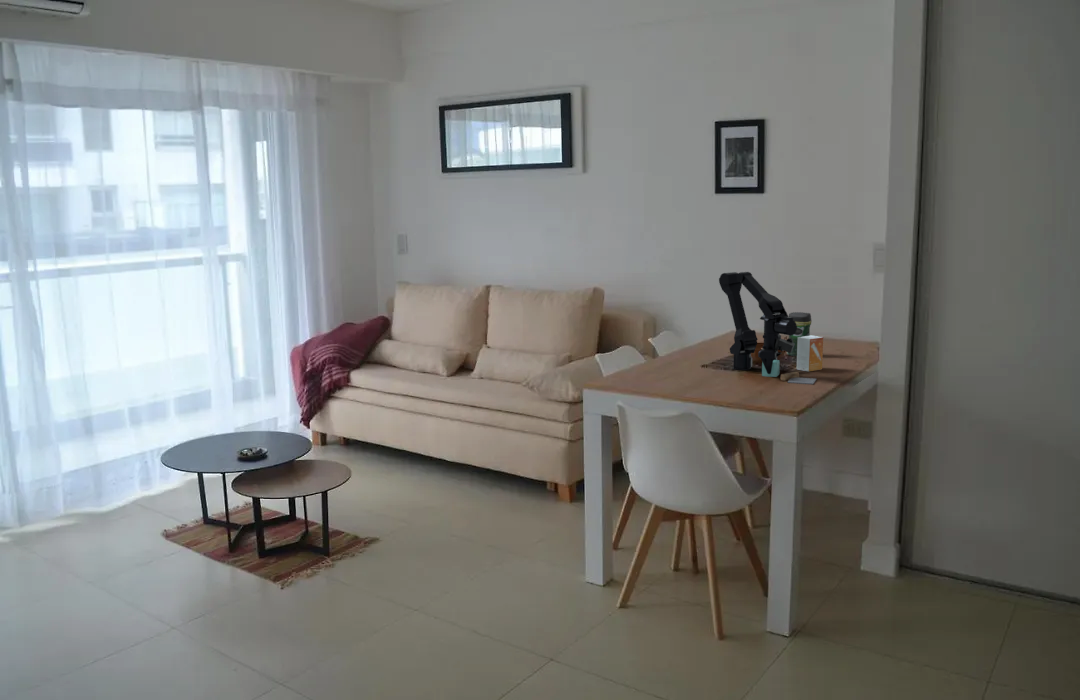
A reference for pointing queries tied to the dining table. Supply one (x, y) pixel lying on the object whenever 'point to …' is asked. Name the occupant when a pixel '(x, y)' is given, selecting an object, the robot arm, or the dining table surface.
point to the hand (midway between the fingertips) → (770, 372)
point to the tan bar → (789, 375)
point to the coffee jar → (800, 328)
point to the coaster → (802, 380)
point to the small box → (809, 353)
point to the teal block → (774, 369)
